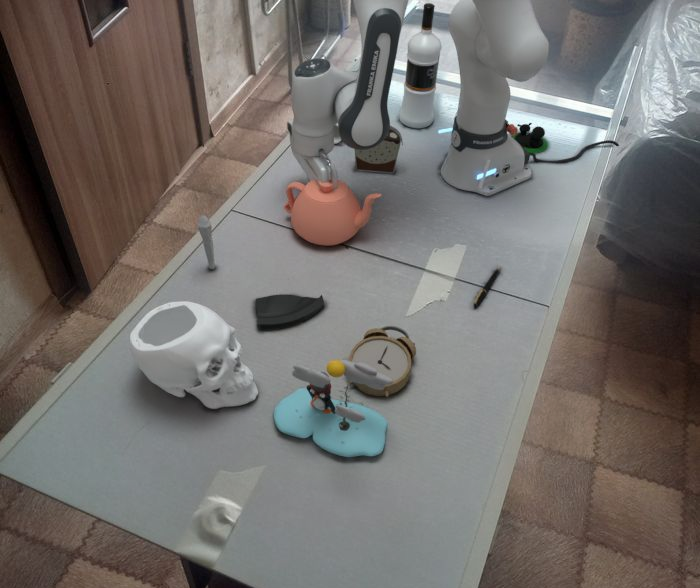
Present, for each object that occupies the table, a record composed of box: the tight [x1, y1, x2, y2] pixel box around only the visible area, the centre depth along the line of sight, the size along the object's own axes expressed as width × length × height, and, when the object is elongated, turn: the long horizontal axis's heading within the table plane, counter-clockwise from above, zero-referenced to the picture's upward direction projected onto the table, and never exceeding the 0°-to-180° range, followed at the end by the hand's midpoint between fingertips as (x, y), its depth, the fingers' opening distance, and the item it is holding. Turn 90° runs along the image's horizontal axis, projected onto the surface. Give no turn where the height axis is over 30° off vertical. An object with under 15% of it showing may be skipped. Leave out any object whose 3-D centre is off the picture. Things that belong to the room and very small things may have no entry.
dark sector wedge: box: [255, 293, 325, 331], centre depth 129 cm, size 8×14×2 cm, turn 100°
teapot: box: [284, 178, 382, 247], centre depth 142 cm, size 22×16×12 cm
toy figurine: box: [510, 122, 549, 154], centre depth 170 cm, size 10×10×6 cm
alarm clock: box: [348, 325, 417, 398], centre depth 120 cm, size 11×5×15 cm
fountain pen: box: [473, 265, 501, 308], centre depth 135 cm, size 14×1×2 cm, turn 150°
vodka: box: [398, 2, 443, 129], centre depth 166 cm, size 9×9×30 cm
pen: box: [197, 214, 216, 270], centre depth 132 cm, size 2×3×14 cm
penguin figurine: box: [273, 358, 393, 458], centre depth 107 cm, size 20×11×15 cm, turn 66°
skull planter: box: [129, 300, 259, 410], centre depth 114 cm, size 14×20×19 cm
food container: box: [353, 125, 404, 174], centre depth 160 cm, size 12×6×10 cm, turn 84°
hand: (314, 192), depth 150 cm, fingers closed
